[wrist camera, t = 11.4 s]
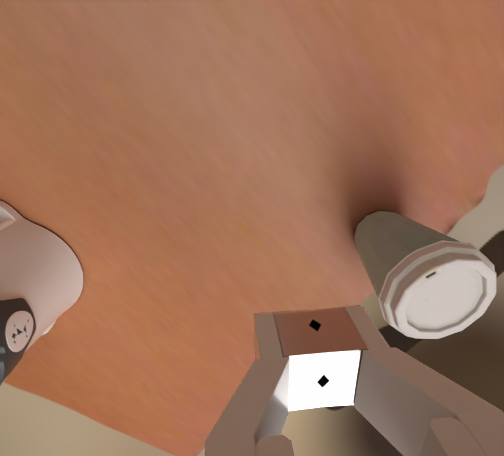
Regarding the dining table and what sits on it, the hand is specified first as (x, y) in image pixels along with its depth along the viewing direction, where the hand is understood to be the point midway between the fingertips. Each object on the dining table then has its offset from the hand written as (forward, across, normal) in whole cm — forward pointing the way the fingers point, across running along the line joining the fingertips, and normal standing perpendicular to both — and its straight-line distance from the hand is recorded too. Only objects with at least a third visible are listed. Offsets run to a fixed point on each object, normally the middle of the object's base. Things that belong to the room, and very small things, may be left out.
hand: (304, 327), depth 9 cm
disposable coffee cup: (+29, -17, +12) cm, 36 cm away
